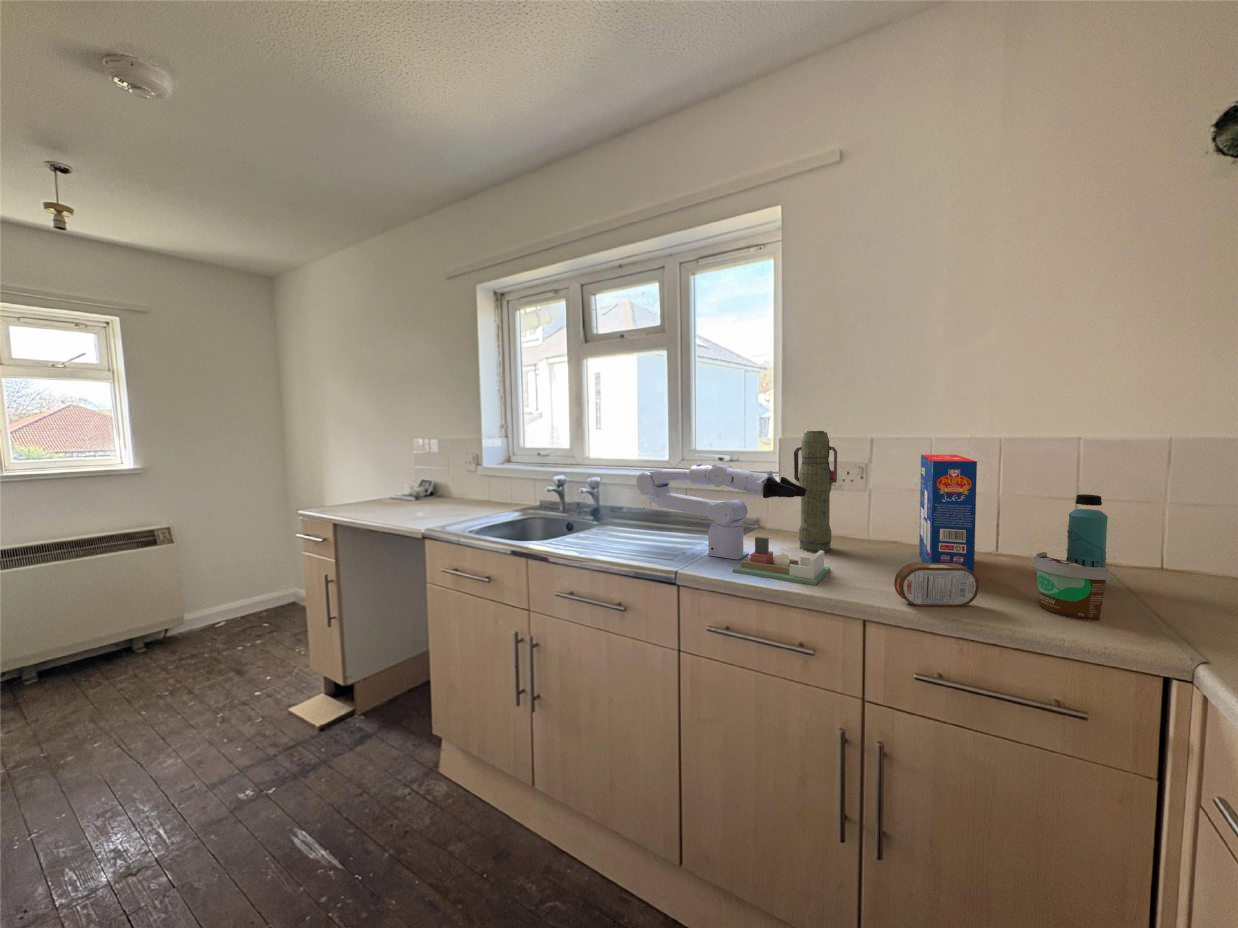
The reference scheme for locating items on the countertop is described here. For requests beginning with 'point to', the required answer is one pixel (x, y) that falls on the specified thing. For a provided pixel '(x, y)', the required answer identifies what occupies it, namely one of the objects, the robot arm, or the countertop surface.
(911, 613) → the countertop surface
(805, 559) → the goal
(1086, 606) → the food container
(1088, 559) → the beverage bottle
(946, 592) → the tin
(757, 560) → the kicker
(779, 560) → the ball
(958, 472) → the pasta box
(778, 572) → the pitch
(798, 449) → the thermos
